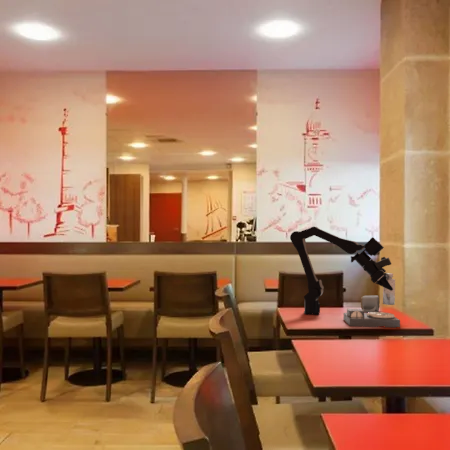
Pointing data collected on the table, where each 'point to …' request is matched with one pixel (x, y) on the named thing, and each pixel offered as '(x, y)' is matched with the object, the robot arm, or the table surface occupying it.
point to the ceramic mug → (370, 303)
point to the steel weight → (389, 291)
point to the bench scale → (370, 319)
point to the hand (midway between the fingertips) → (392, 289)
